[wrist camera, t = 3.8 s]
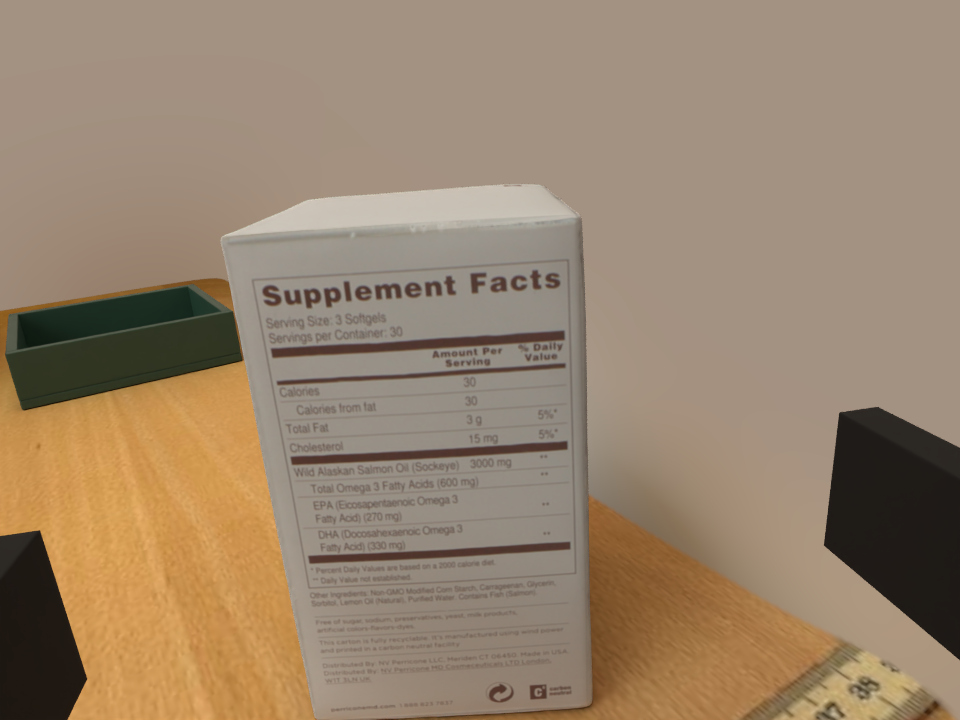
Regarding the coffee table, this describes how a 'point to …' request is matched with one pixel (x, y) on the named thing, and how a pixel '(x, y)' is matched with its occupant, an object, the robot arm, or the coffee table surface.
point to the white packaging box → (425, 444)
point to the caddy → (117, 343)
